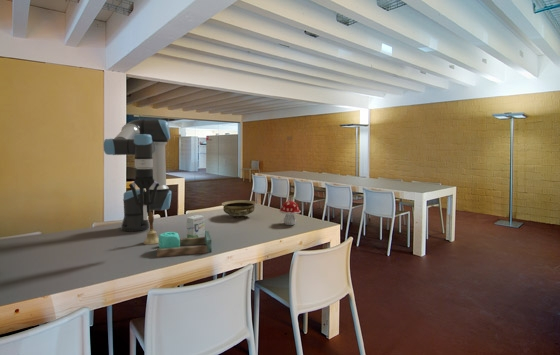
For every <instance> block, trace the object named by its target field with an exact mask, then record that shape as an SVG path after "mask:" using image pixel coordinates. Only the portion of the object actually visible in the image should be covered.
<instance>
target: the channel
mask: <svg viewBox="0 0 560 355" xmlns="http://www.w3.org/2000/svg"><path fill="white" fill-rule="evenodd" d="M212 251H213V250H212V237H211V234H210V231H209V230H205V236H204V237H197V238H187V237H186V238H180V247H176V248H164V249H160V248H157V249H156V257H157V258H160V257H171V256H173V257H174V256H183V255H194V254H204V253H205V254H208V253H212Z"/></svg>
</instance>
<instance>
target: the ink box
mask: <svg viewBox="0 0 560 355" xmlns="http://www.w3.org/2000/svg"><path fill="white" fill-rule="evenodd" d="M205 221H206V220H205V215H201V214H195V215H192V216H187V218H186V229H187V230H186V238H197V237H205V231H206V229H205Z"/></svg>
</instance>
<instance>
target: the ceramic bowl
mask: <svg viewBox="0 0 560 355" xmlns="http://www.w3.org/2000/svg"><path fill="white" fill-rule="evenodd" d="M255 205H257V202H256V201H254V200H245V199H244V200H243V199H242V200H240V199H239V200H237V199H236V200H228V201H224V202H222V203H221V206H222V207H223V208H222V210H223V212H224V213H225V214H227V215H229V216H233V218H234V219H243V218H246V215H247V216H248V215H250V214H252V213H253V212H255V208H256V207H255Z"/></svg>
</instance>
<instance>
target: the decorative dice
mask: <svg viewBox="0 0 560 355" xmlns="http://www.w3.org/2000/svg"><path fill="white" fill-rule="evenodd" d="M158 238H159V243H158V249H164V248H176V247H181V246H180V239H181V238H180V235H179V233H178V232H175V231H167V232H163V233H160V234H159V236H158Z"/></svg>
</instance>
